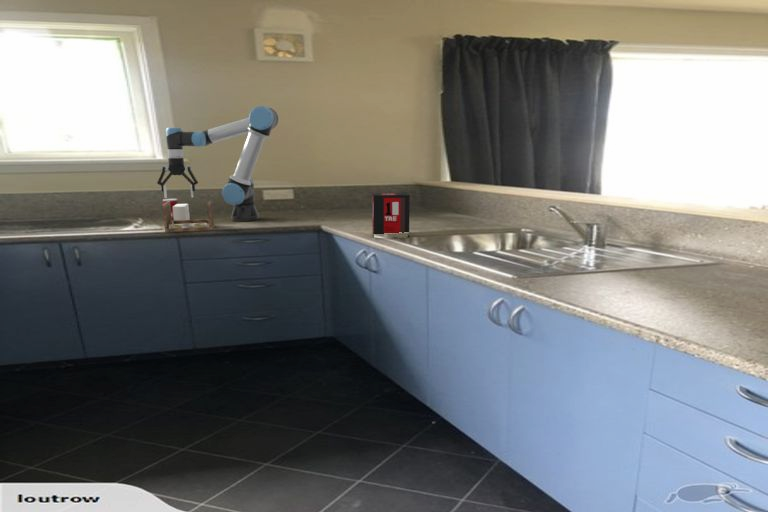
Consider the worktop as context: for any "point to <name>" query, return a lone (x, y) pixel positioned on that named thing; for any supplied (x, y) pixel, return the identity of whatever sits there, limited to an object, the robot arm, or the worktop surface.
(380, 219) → the cleaning product box
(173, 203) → the canned food
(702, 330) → the worktop surface
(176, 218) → the product carton
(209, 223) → the facing shelf
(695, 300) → the worktop surface
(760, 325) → the worktop surface
